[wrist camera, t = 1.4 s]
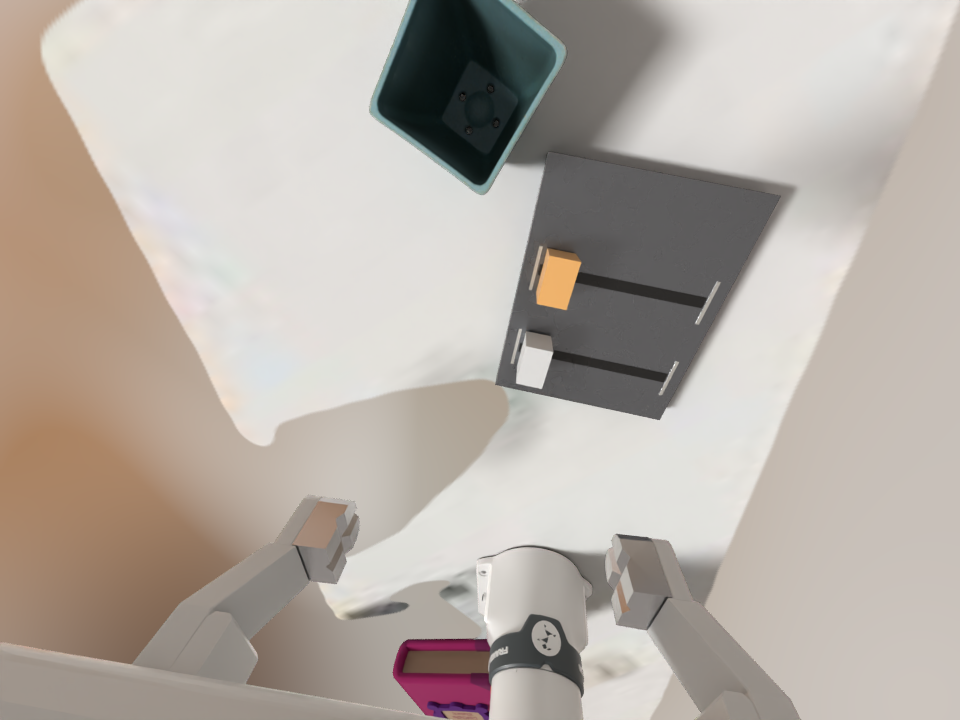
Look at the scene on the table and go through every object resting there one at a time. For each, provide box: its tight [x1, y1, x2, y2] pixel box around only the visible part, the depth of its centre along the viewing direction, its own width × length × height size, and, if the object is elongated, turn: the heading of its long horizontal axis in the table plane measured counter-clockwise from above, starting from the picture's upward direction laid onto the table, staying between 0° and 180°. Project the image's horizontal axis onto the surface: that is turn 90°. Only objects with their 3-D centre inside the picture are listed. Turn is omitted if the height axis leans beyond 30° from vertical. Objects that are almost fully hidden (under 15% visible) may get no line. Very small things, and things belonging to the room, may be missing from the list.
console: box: [495, 152, 781, 420], centre depth 32 cm, size 22×18×2 cm
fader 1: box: [516, 331, 553, 389], centre depth 33 cm, size 4×2×4 cm, turn 170°
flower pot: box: [369, 0, 567, 195], centre depth 24 cm, size 9×9×9 cm
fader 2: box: [536, 248, 581, 310], centre depth 29 cm, size 4×2×4 cm, turn 170°
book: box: [393, 637, 491, 720], centre depth 72 cm, size 21×28×8 cm
